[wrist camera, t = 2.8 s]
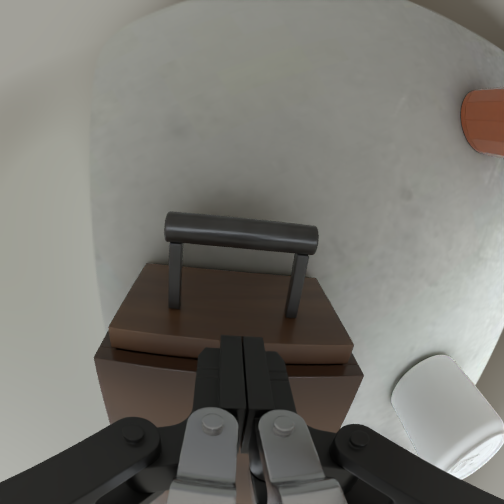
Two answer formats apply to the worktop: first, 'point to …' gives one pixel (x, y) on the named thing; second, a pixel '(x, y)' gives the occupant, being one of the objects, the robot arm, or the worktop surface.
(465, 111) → the cup
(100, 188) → the worktop surface
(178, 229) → the drawer
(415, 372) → the beverage can
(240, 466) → the cabinet
